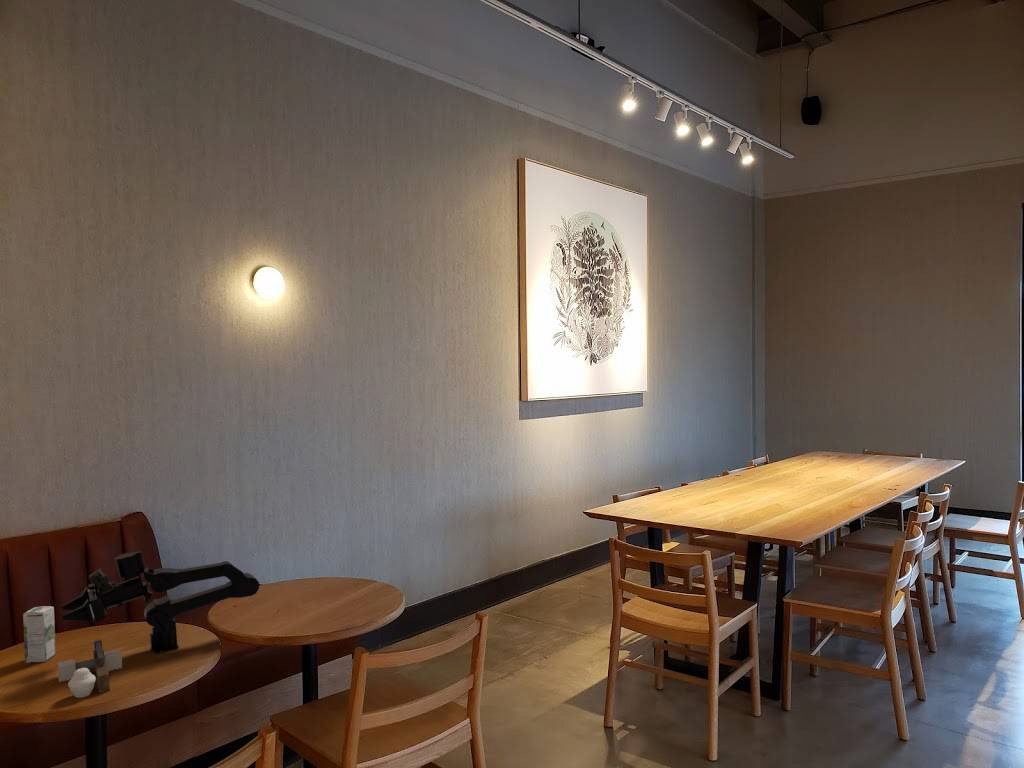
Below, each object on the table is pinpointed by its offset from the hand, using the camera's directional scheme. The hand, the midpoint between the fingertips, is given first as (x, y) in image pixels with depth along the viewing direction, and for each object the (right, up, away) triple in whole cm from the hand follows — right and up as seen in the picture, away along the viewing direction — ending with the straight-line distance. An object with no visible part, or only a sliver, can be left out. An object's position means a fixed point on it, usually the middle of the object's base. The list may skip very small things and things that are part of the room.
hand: (62, 613), depth 209 cm
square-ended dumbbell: (+10, -15, -3) cm, 18 cm away
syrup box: (-11, -16, +9) cm, 21 cm away
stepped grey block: (+12, -11, -4) cm, 17 cm away
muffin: (+16, -16, -18) cm, 29 cm away
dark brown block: (+15, -15, -7) cm, 22 cm away
